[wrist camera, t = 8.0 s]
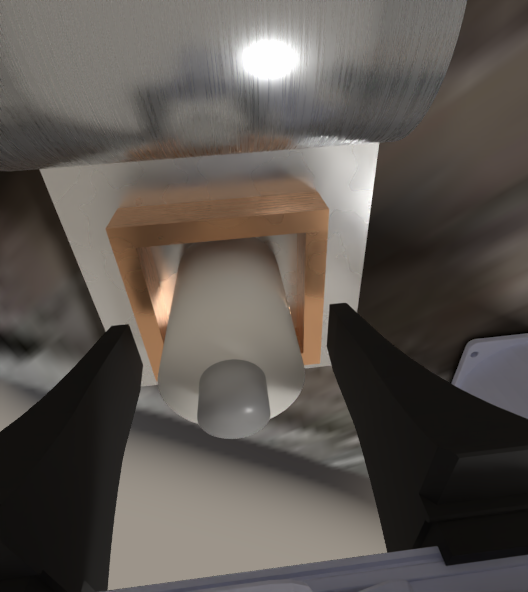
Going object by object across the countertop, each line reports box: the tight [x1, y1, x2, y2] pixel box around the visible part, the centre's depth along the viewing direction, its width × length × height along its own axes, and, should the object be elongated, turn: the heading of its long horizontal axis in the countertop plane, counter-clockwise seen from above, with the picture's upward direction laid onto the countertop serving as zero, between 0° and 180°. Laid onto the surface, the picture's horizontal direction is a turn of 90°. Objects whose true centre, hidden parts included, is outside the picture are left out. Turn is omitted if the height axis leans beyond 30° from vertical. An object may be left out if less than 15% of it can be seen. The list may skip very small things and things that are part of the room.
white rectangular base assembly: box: [0, 0, 467, 386], centre depth 13 cm, size 18×12×8 cm, turn 3°
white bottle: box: [158, 237, 305, 439], centre depth 13 cm, size 4×4×7 cm
